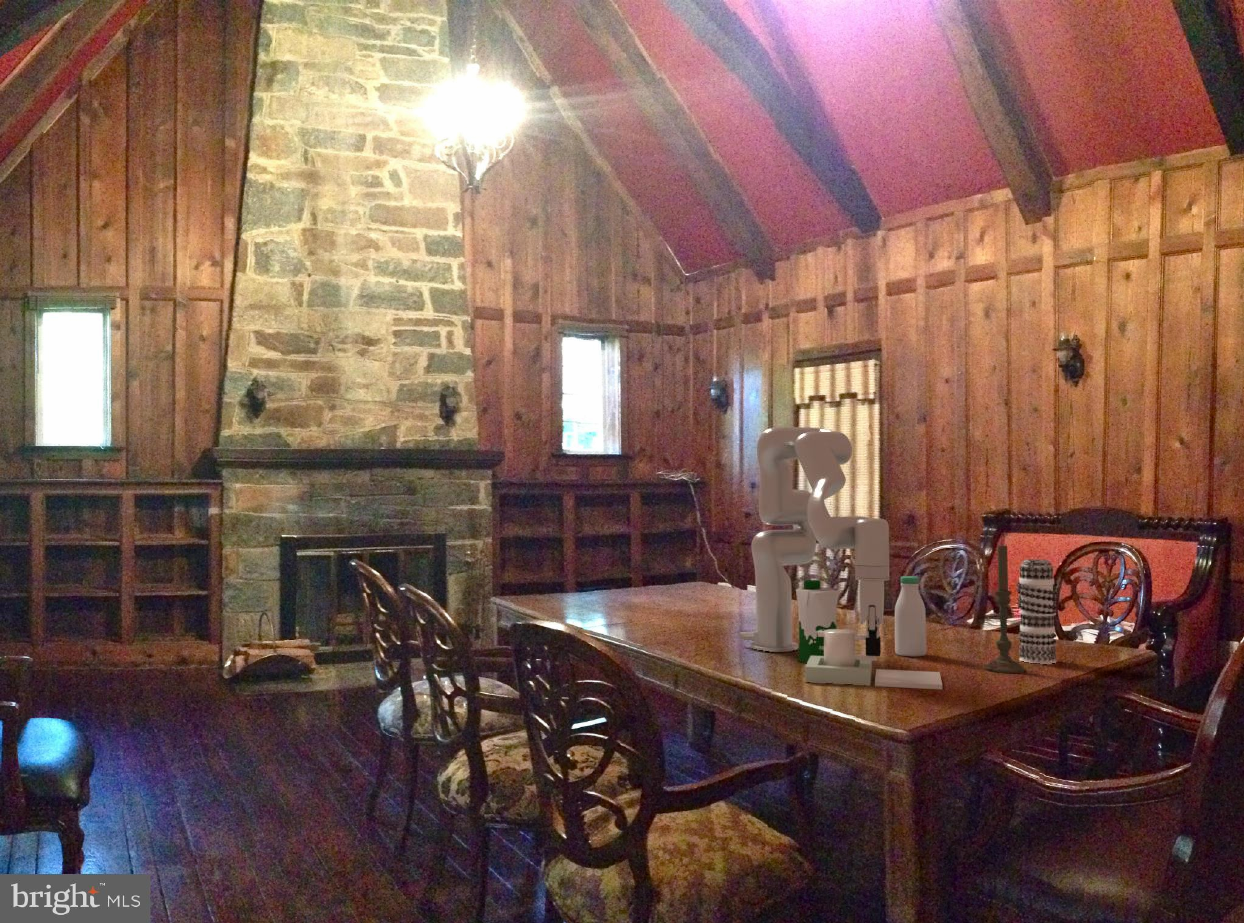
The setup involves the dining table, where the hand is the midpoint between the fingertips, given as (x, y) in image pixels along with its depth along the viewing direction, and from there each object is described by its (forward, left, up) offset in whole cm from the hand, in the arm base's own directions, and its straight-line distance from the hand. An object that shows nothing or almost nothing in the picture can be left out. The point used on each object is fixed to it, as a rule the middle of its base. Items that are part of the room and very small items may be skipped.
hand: (873, 654), depth 216 cm
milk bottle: (+8, +34, -6) cm, 36 cm away
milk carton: (-14, +17, -6) cm, 23 cm away
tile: (+7, 0, -6) cm, 9 cm away
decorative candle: (+38, +32, -6) cm, 50 cm away
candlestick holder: (+29, +19, -6) cm, 36 cm away
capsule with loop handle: (-6, 0, -6) cm, 8 cm away
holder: (-8, 0, -6) cm, 9 cm away
